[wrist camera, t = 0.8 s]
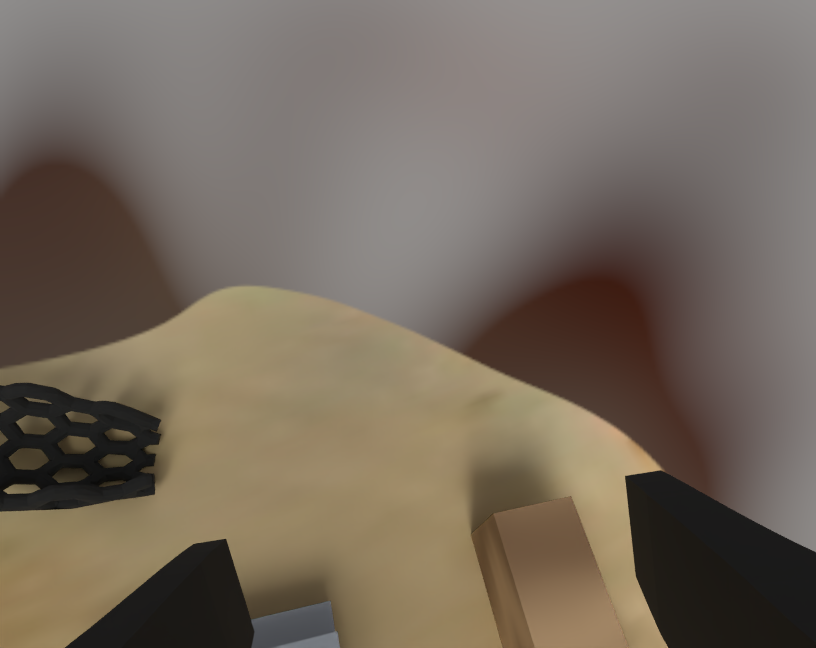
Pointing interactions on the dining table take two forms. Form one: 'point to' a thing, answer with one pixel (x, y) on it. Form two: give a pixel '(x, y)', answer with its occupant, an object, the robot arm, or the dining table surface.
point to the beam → (545, 579)
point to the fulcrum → (297, 628)
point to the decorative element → (84, 491)
